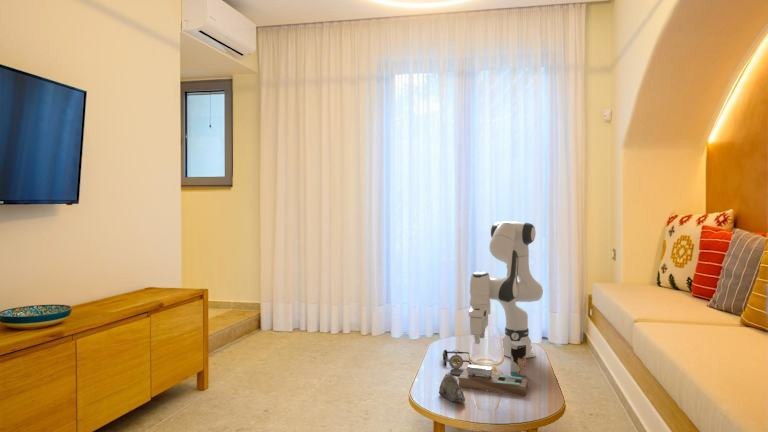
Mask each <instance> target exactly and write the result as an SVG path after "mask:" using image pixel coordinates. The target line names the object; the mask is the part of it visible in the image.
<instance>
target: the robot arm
mask: <svg viewBox="0 0 768 432" xmlns="http://www.w3.org/2000/svg"><path fill="white" fill-rule="evenodd" d="M536 232H537V231H536V227H535V226H534V224H533V223H530V222H523V221H522V222H521V221H520V222H519V221H496V222H495V223H493V224H492V226H491V228H490V237H491V239H490V242H489V248H488V249H489V252H490V253H491V255H492V256H493V257H494V258H495V259H497V261H500V262H503V263H504V264H505V265H506V270H507V271H506V277H504V278H500V277H490V274H489V272H487V271H482V270H481V271H480V270H478V271H474V272H473V273H471V277H470V281H469V294H470V299H469V310H468V318H469V328H470V333H471V334H470V335H472V336H473V337H474V343H475V345H480V343H481V339H485V332H486V328H487V327H488V326H489V315H490V314H491V300H493V301H494V300H495V301H498V302H499V304H500V305H501V306H502V308H503V310H504V314H505V327H504V336H502V337H501V342H502V341H503V348H504V355H503V356H505V357H508V358H511V342H513V341H521V342H525V343H526V359H527V358H535V357H536V353H535V350H534V347H533V346H532V340H531V339H530V337H529V334H530V333H529V332H530V330H529V328H528V327H529V325H528V324H529V323H528V322H529V319H528V318H529V315H528V312H527V311H525V310H524V309H523V308H521V307H519V306H517V304H516V303H517V302H521V303H531V302H532V303H533V302H538V301H540V300H541V299H542V297H543V294H544V293H543V292H544V290H543V286H542V285H541V283H540V282H538V280H536V279H535V278H534V277H533V275H532V273H531V271H530V262H529V261H530V260H529V259H530V258H529V257H530V256H529V255H530V254H529V252H530V250H529V245H531V244H532V243H533V242H534V241H535V238H536Z"/></svg>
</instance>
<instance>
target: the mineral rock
mask: <svg viewBox="0 0 768 432" xmlns="http://www.w3.org/2000/svg"><path fill="white" fill-rule="evenodd" d="M453 375H454V374H451V373H446V374H445V375H444V376H443V378H442V381H441V383H440V386H439V389H438V394H439V395H440V396H442V397H444V398H445V399H448V400H450V401H451V402H458V403H463V404H464V403H465V402H466V398H465V394H464V390H463V389H462V387H459V382H458V380H457V378H456V377H455V376H453Z"/></svg>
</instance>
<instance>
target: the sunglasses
mask: <svg viewBox="0 0 768 432" xmlns="http://www.w3.org/2000/svg"><path fill="white" fill-rule="evenodd" d="M455 352H457V355H458V354H459V355H461V354H468V355H469V353H470V352H467V351H459V352H458V351H454V352H453V351H448V350H447V349H444V350H443V351H442V360H443V364H444V366H448V365H447V363H449V360H450V359H448V357H449V355H448V354H455ZM458 363H460V362H459V360H458ZM463 363H469V364H468V365H473V364H472V362H471V361H469V360H463Z"/></svg>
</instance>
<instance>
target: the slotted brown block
mask: <svg viewBox="0 0 768 432" xmlns="http://www.w3.org/2000/svg"><path fill="white" fill-rule="evenodd" d="M458 385H459V387H460V388H467V389H474V390H480V391H486V390H488V391H487V392H493V391H494V393H499V392H500V393H501V394H508V395H512V396H513V395H514V396H520V397H526V395H527V393H528V389H529V378H526V377H524V378H521V377H514V376H511V375H505V374H504V375H503V374H497V373H495V374H494V373H492V375H491V377H490V379H485V376H482V375H475V374H474V377H470V376H469V374H468V369H467V370H465V369H464V371H463V373H462V374H461V375H459V376H458Z"/></svg>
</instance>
